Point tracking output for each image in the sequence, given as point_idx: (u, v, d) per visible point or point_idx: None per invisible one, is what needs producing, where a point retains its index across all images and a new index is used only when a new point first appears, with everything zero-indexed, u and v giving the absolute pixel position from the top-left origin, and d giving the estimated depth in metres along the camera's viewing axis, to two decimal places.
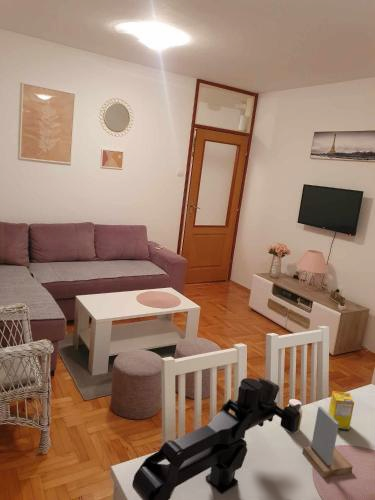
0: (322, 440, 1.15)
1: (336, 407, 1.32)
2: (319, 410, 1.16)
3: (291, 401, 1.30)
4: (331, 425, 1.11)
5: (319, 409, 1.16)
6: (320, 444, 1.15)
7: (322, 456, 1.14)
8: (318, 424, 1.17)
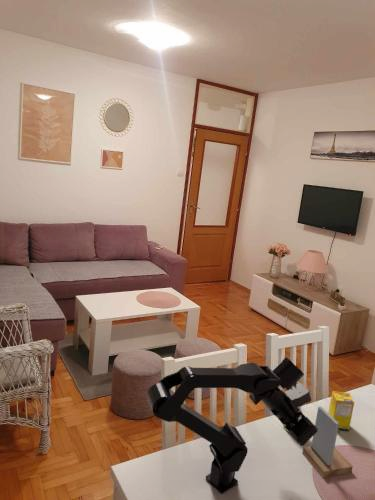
0: (322, 440, 1.15)
1: (336, 407, 1.32)
2: (319, 410, 1.16)
3: None
4: (331, 425, 1.11)
5: (319, 409, 1.16)
6: (320, 444, 1.15)
7: (322, 456, 1.14)
8: (318, 424, 1.17)
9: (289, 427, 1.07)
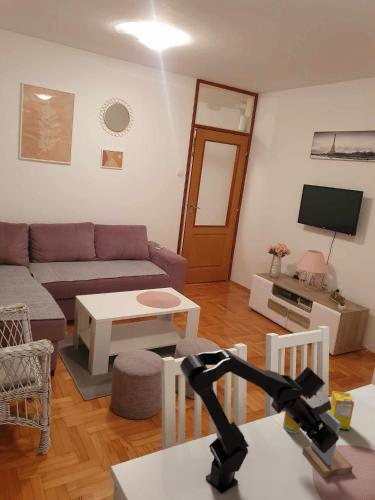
0: None
1: (336, 407, 1.32)
2: None
3: None
4: (333, 425, 1.11)
5: None
6: None
7: (322, 456, 1.15)
8: None
9: (310, 434, 1.10)
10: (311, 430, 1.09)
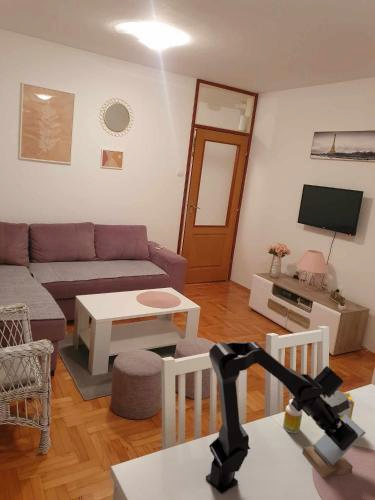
0: None
1: None
2: (345, 417, 1.20)
3: (291, 401, 1.30)
4: (356, 431, 1.15)
5: (345, 416, 1.20)
6: (330, 444, 1.17)
7: (326, 455, 1.15)
8: None
9: (329, 433, 1.12)
10: (330, 428, 1.11)
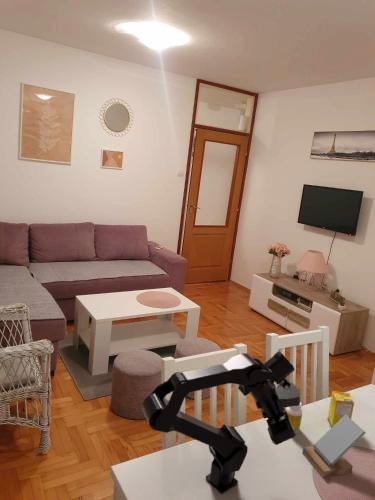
0: (335, 441, 1.16)
1: (336, 407, 1.32)
2: (345, 417, 1.20)
3: None
4: (356, 431, 1.15)
5: (345, 416, 1.20)
6: (330, 444, 1.17)
7: (326, 455, 1.15)
8: (336, 428, 1.19)
9: (270, 422, 1.07)
10: (271, 419, 1.05)
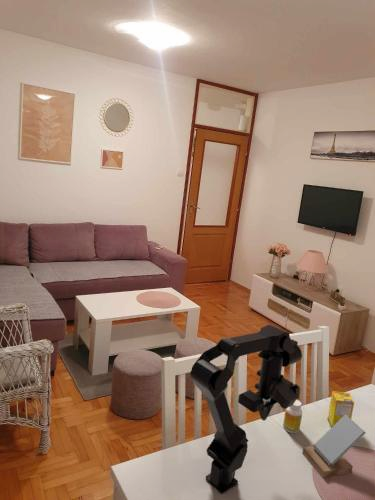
0: (335, 441, 1.16)
1: (336, 407, 1.32)
2: (345, 417, 1.20)
3: None
4: (356, 431, 1.15)
5: (345, 416, 1.20)
6: (330, 444, 1.17)
7: (326, 455, 1.15)
8: (336, 428, 1.19)
9: None
10: (257, 393, 1.11)
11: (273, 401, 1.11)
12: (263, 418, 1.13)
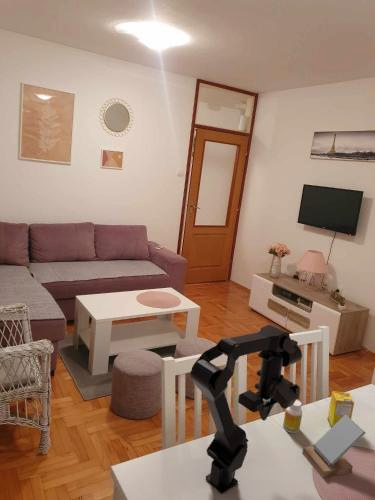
0: (335, 441, 1.16)
1: (336, 407, 1.32)
2: (345, 417, 1.20)
3: None
4: (356, 431, 1.15)
5: (345, 416, 1.20)
6: (330, 444, 1.17)
7: (326, 455, 1.15)
8: (336, 428, 1.19)
9: None
10: (257, 393, 1.11)
11: (273, 401, 1.11)
12: (263, 418, 1.13)
